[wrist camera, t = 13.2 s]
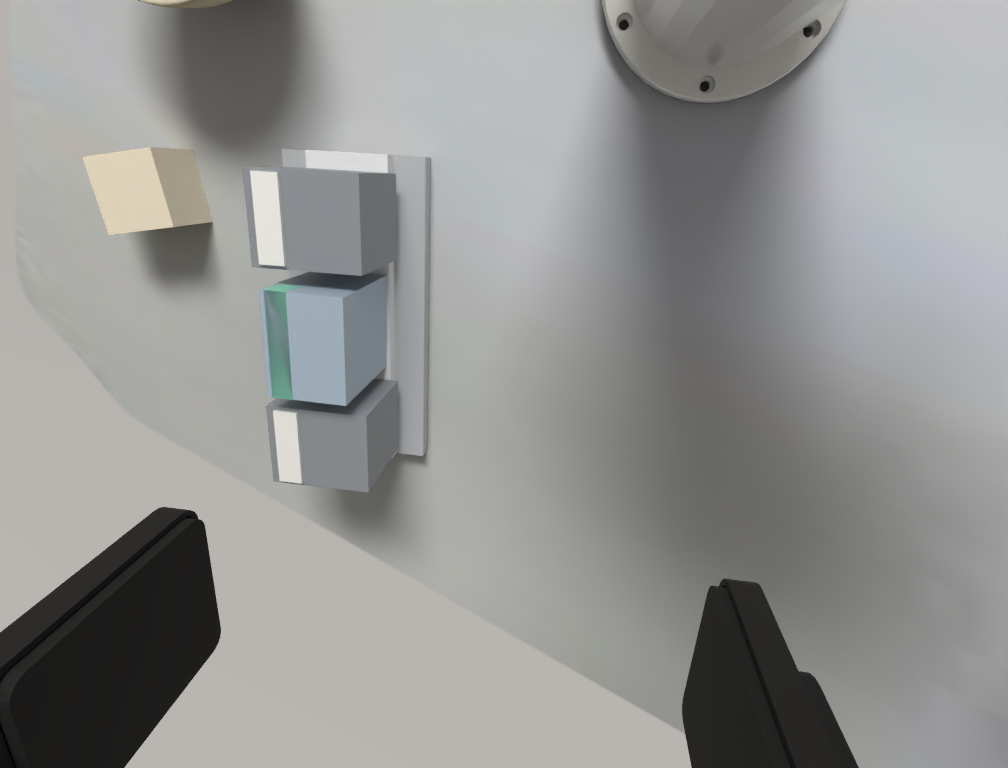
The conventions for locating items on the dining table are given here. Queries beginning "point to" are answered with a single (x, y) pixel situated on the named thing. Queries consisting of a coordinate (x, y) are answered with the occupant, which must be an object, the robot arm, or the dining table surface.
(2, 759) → the robot arm
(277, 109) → the dining table surface
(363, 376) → the module
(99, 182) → the beige cube
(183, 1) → the olive bowl
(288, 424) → the rail fixture
